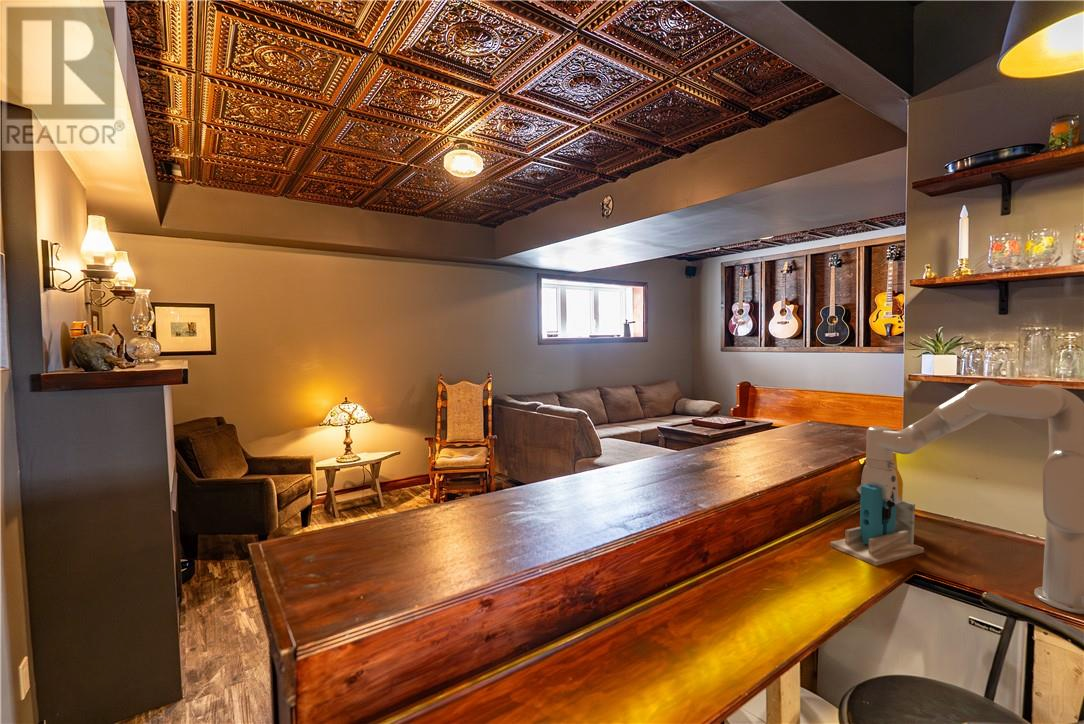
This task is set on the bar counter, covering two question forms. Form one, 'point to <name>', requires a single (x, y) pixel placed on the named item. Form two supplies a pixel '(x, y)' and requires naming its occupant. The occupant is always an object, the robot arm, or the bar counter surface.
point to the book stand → (884, 540)
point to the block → (874, 514)
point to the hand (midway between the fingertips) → (877, 515)
